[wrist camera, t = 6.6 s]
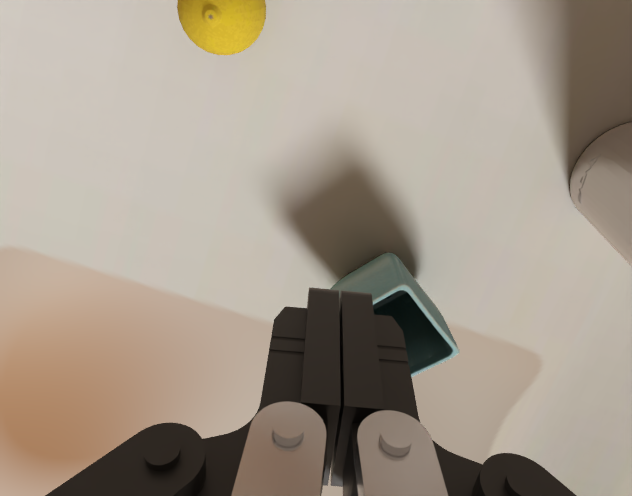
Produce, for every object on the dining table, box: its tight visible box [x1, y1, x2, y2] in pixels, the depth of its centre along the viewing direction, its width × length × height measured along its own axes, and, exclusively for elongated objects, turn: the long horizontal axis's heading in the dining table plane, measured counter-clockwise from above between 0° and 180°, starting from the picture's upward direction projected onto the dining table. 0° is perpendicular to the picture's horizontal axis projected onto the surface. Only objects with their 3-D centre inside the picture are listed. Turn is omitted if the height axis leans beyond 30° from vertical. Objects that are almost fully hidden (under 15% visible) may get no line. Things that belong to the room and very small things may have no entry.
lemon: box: [177, 0, 266, 55], centre depth 32 cm, size 6×6×8 cm
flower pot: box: [330, 253, 460, 377], centre depth 44 cm, size 9×9×9 cm
